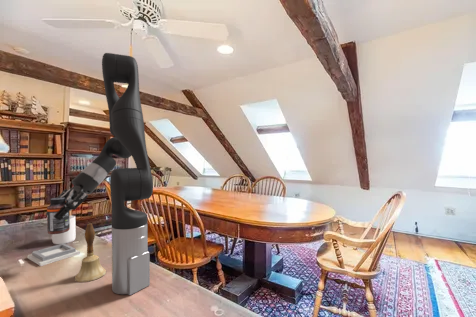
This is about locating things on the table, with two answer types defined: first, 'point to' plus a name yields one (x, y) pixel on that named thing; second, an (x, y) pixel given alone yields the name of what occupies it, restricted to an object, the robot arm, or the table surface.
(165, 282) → the table surface
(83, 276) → the hand bell
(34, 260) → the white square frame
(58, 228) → the supplement bottle
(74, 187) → the robot arm
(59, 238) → the mug
